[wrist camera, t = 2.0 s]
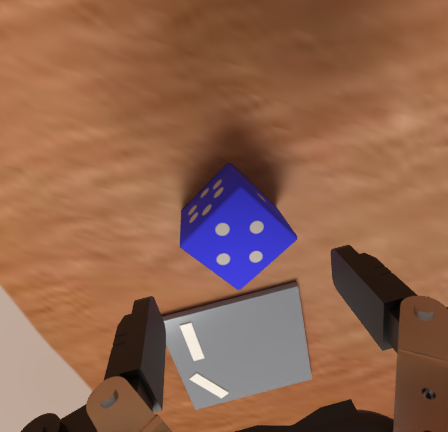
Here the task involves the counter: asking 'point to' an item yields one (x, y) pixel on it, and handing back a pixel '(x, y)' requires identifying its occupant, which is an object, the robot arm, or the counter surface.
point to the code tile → (240, 345)
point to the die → (234, 228)
